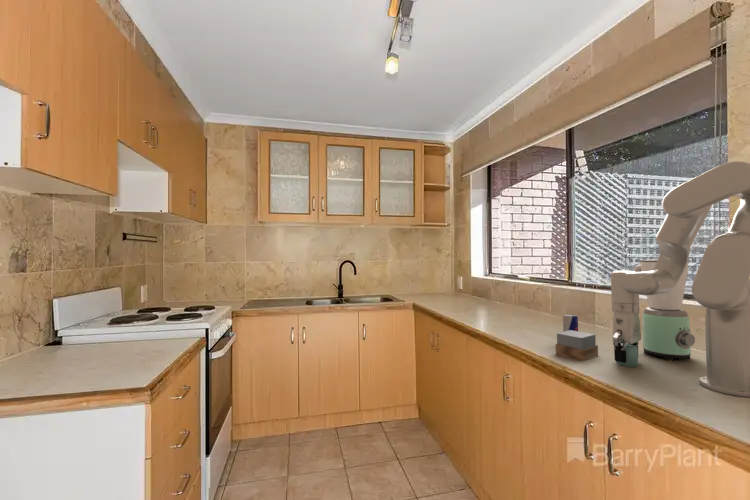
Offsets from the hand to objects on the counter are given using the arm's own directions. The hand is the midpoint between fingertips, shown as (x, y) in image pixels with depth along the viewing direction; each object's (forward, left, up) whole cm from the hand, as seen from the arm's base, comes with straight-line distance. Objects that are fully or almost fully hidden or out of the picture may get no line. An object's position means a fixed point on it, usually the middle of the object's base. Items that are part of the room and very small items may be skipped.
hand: (626, 359), depth 115 cm
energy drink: (+23, -10, -2) cm, 25 cm away
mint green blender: (-4, -21, -2) cm, 21 cm away
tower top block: (+15, +2, +2) cm, 15 cm away
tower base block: (+15, +2, -2) cm, 15 cm away
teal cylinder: (0, 0, -2) cm, 2 cm away
